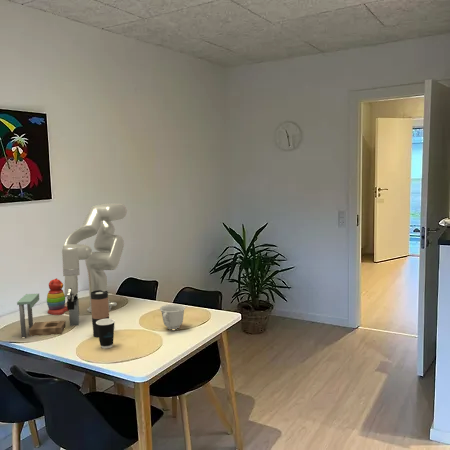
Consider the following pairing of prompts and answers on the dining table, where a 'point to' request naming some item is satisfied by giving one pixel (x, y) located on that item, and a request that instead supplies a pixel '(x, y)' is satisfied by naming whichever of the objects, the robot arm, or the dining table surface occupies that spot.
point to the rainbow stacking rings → (56, 298)
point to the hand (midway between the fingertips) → (72, 306)
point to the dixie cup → (106, 332)
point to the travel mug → (99, 308)
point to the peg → (74, 314)
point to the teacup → (172, 315)
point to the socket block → (47, 328)
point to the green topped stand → (30, 301)
